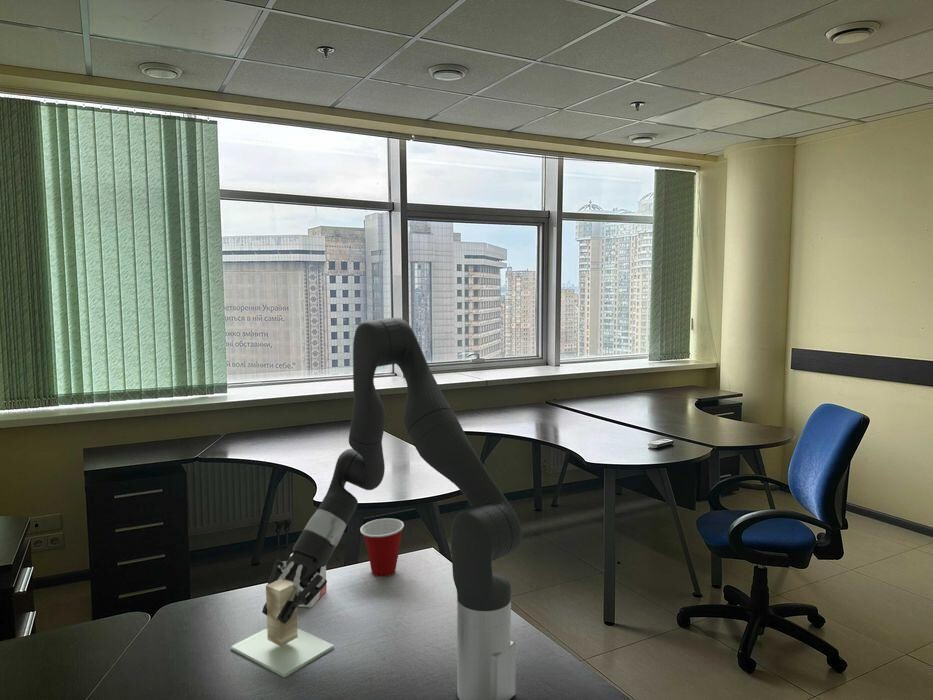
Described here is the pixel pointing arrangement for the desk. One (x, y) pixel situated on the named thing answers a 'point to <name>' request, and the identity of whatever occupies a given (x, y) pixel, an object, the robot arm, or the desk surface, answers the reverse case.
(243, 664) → the desk surface
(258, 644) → the sage mat
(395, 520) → the plastic cup
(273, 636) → the birch block
